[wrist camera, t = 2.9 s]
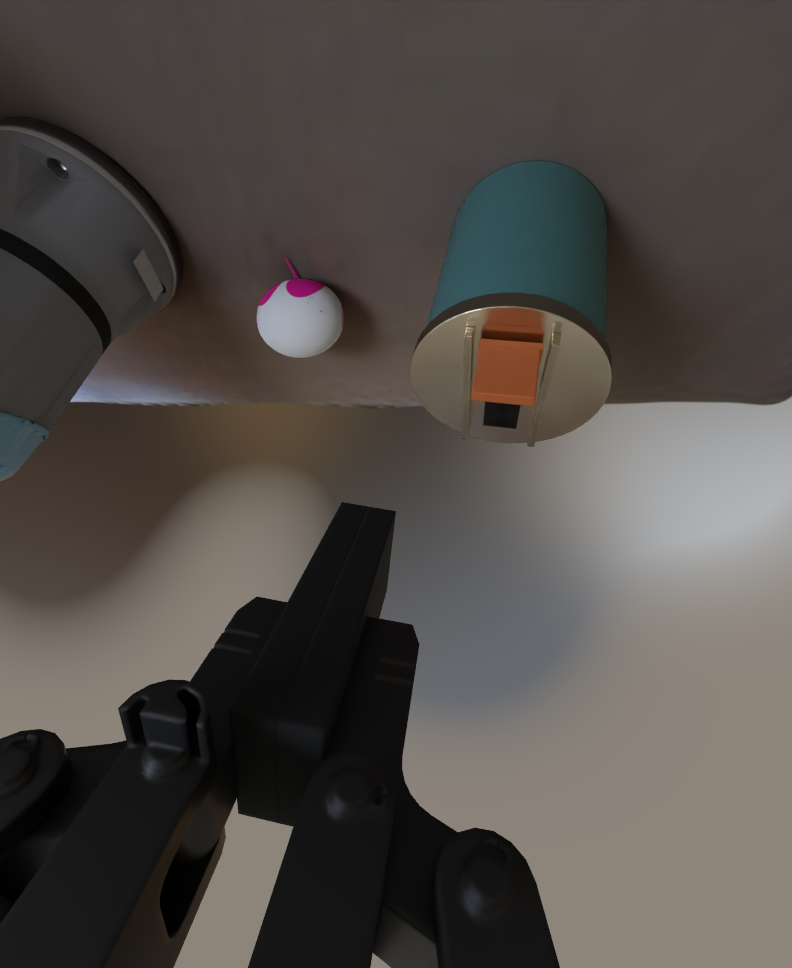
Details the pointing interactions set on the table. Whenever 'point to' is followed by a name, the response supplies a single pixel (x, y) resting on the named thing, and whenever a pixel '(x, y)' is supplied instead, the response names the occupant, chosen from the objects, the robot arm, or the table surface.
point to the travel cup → (521, 304)
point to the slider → (507, 372)
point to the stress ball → (300, 317)
